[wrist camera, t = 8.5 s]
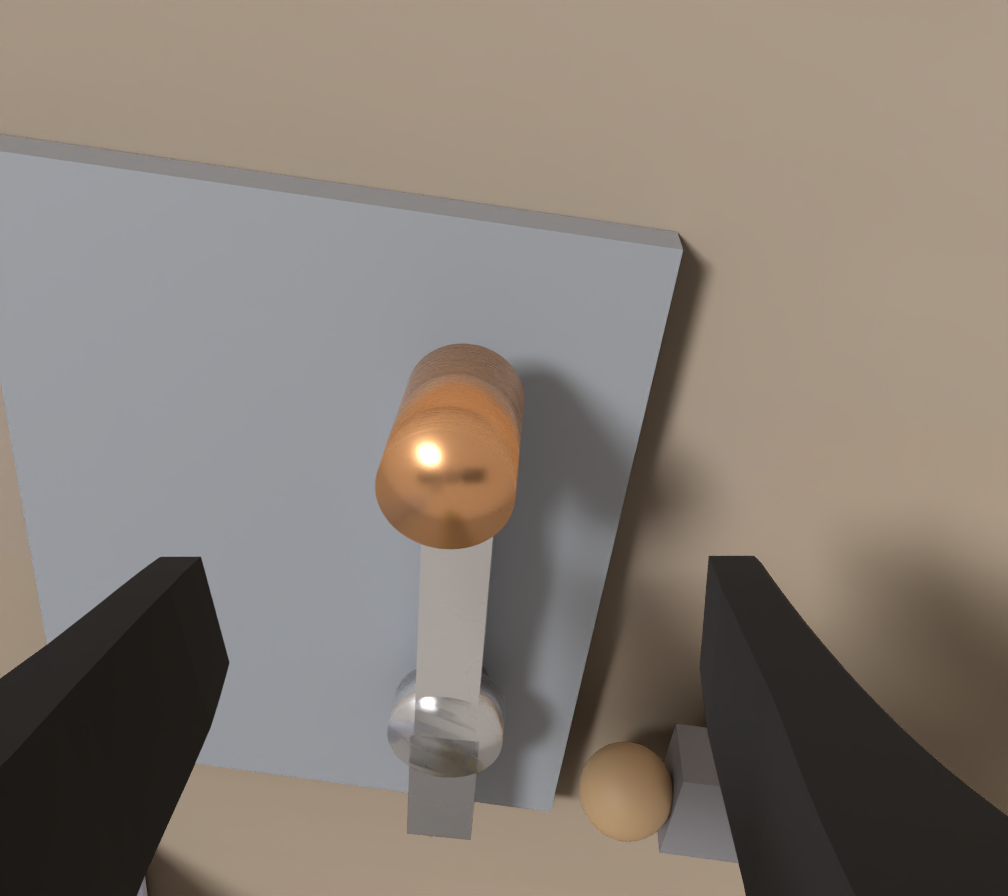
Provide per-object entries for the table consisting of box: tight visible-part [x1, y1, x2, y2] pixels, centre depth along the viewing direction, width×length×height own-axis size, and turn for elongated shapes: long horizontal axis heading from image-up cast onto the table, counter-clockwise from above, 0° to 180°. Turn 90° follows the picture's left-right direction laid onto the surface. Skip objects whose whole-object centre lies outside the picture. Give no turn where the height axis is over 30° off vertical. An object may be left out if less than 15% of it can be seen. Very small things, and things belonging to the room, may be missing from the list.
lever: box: [375, 343, 524, 840], centre depth 21 cm, size 15×3×5 cm, turn 176°
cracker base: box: [0, 134, 738, 863], centre depth 23 cm, size 18×20×4 cm
